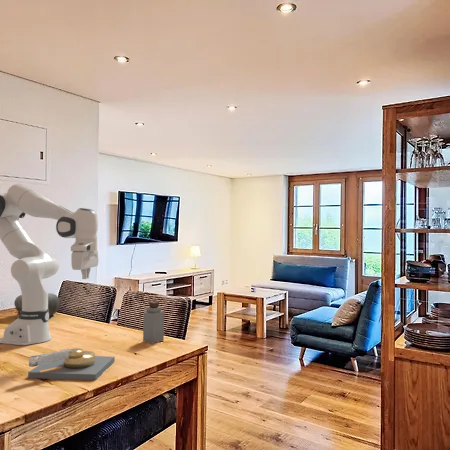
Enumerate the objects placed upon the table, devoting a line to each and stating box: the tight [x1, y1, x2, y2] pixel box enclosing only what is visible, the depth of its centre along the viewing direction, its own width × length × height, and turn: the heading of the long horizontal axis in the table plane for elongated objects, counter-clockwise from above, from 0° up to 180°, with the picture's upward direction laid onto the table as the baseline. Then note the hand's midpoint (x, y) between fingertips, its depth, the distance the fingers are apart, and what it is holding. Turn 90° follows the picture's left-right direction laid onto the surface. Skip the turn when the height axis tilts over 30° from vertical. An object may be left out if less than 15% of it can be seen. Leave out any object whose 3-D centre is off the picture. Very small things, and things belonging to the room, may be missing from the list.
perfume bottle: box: [142, 301, 165, 344], centre depth 193 cm, size 7×7×18 cm
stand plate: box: [27, 355, 115, 381], centre depth 152 cm, size 24×20×2 cm
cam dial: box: [28, 348, 96, 368], centre depth 147 cm, size 24×11×6 cm, turn 136°
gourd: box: [13, 292, 61, 317], centre depth 242 cm, size 25×25×17 cm
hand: (85, 278), depth 174 cm, fingers closed
